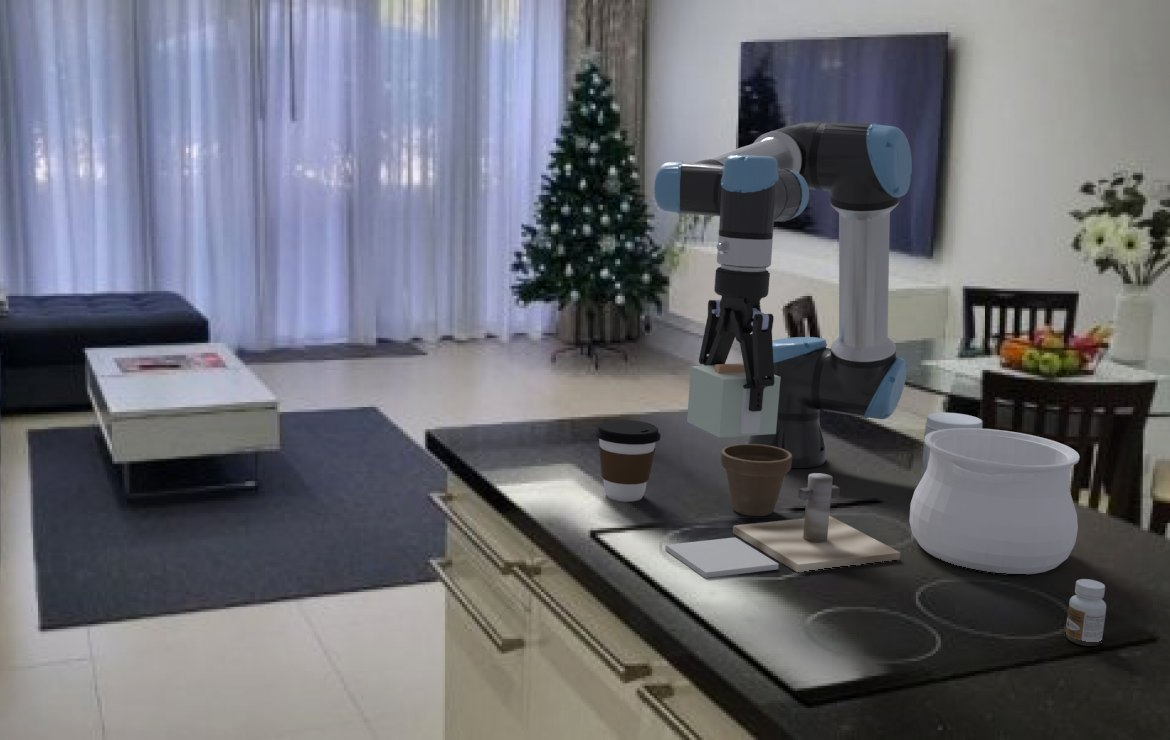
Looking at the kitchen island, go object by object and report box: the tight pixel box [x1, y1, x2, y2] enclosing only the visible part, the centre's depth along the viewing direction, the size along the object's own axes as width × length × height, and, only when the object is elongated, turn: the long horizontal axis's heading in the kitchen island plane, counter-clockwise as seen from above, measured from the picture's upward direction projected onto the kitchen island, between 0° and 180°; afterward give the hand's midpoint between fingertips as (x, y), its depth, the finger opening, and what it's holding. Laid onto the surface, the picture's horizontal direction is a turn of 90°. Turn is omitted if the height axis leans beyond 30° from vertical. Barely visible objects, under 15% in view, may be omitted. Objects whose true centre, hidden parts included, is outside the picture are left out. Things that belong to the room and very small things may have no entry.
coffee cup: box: [594, 419, 661, 503], centre depth 214 cm, size 11×11×12 cm
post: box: [732, 472, 901, 573], centre depth 193 cm, size 18×18×11 cm
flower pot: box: [720, 443, 792, 517], centre depth 210 cm, size 12×11×10 cm
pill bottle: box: [1065, 578, 1107, 642], centre depth 163 cm, size 4×4×8 cm
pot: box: [909, 428, 1081, 575], centre depth 194 cm, size 26×24×17 cm
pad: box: [664, 537, 779, 579], centre depth 187 cm, size 12×12×1 cm
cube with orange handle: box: [686, 362, 781, 438], centre depth 182 cm, size 9×9×9 cm
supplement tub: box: [919, 412, 983, 482], centre depth 221 cm, size 10×10×15 cm
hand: (731, 424), depth 183 cm, fingers closed on cube with orange handle, 9 cm apart
